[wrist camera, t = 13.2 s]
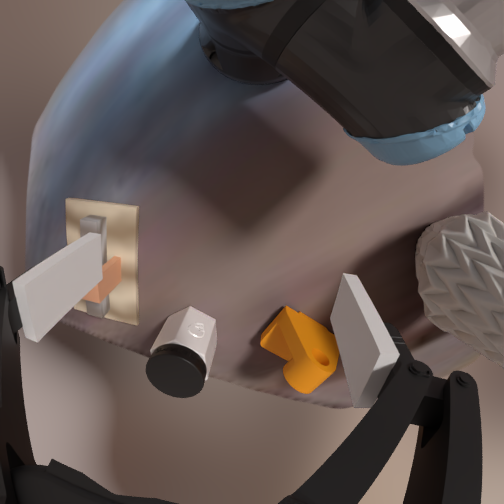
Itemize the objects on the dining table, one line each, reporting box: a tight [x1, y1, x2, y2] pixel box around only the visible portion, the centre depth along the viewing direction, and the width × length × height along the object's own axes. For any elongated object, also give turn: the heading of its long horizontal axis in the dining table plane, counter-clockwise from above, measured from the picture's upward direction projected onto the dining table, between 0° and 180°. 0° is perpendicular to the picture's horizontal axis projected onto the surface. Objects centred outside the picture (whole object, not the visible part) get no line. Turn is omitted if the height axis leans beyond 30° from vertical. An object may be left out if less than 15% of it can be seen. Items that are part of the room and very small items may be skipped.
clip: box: [82, 256, 122, 304], centre depth 41 cm, size 4×8×8 cm, turn 81°
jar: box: [146, 306, 217, 398], centre depth 43 cm, size 9×8×12 cm
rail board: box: [66, 198, 139, 325], centre depth 44 cm, size 20×13×4 cm, turn 172°
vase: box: [415, 211, 504, 368], centre depth 26 cm, size 17×17×33 cm
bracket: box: [261, 306, 340, 394], centre depth 42 cm, size 11×7×12 cm, turn 56°
